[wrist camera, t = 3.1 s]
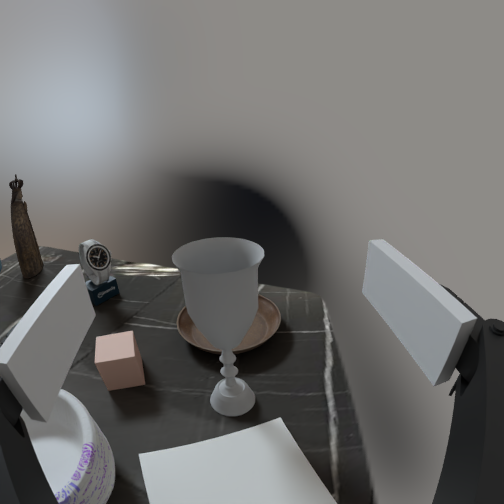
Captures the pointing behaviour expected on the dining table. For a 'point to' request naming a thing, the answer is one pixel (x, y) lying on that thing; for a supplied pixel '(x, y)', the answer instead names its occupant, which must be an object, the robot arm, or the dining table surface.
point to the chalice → (222, 306)
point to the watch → (98, 271)
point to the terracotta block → (119, 361)
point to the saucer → (255, 336)
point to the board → (235, 470)
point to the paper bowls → (73, 453)
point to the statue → (24, 234)
